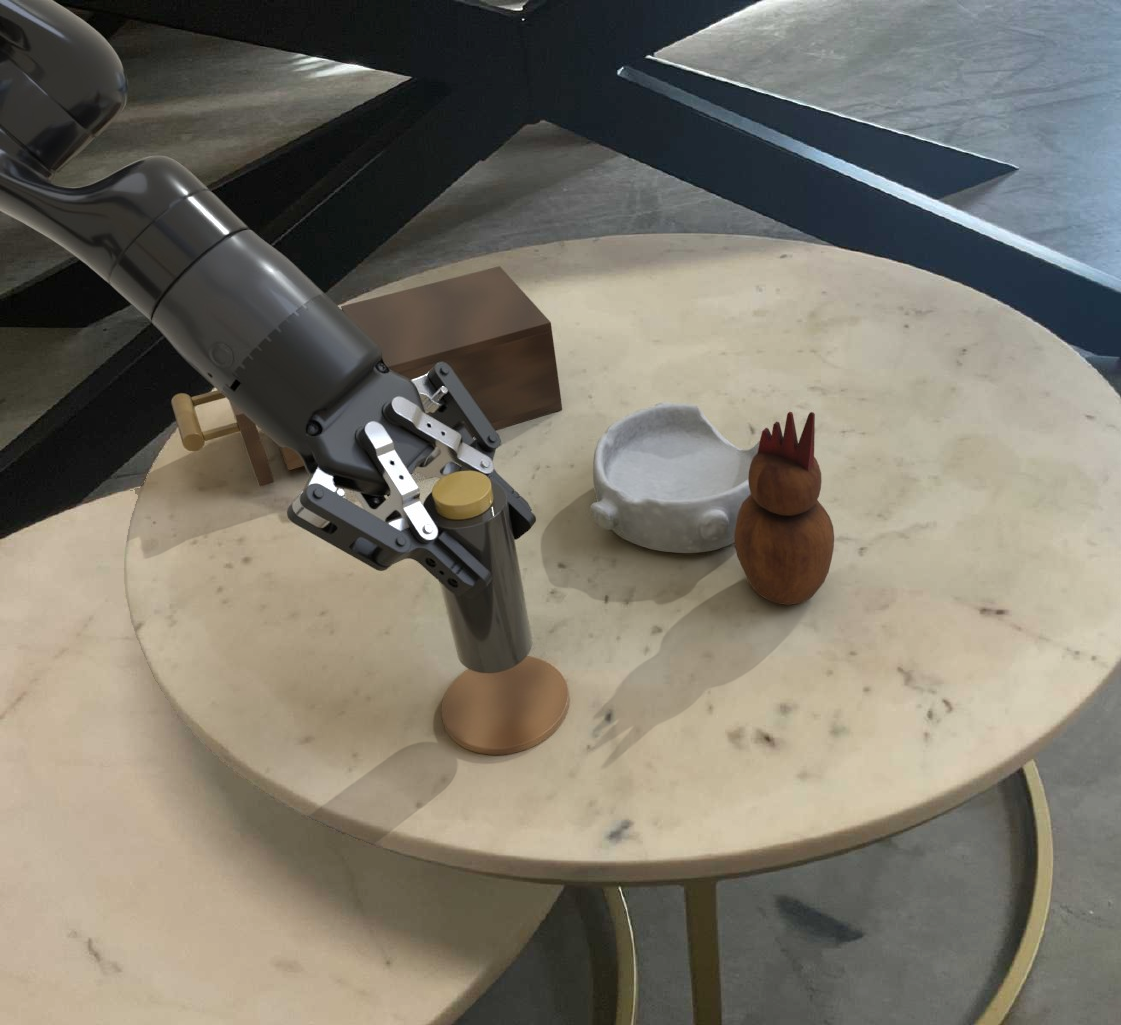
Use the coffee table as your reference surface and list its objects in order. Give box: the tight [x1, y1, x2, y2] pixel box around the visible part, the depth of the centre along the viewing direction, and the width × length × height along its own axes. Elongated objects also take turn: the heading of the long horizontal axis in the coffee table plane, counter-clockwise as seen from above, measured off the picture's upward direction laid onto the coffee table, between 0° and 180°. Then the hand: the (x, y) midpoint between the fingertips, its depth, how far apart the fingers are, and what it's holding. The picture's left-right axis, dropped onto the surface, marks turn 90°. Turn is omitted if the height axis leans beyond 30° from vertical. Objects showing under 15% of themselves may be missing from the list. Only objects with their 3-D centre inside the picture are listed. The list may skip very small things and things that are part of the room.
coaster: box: [440, 655, 571, 756], centre depth 72 cm, size 8×8×1 cm
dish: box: [589, 401, 760, 554], centre depth 86 cm, size 14×14×5 cm
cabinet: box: [340, 265, 563, 448], centre depth 99 cm, size 15×13×9 cm
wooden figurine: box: [734, 411, 835, 606], centre depth 75 cm, size 7×6×15 cm
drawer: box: [171, 389, 305, 488], centre depth 94 cm, size 18×11×7 cm, turn 117°
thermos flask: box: [422, 471, 534, 673], centre depth 65 cm, size 5×5×12 cm
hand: (503, 558), depth 64 cm, fingers closed on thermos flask, 4 cm apart
